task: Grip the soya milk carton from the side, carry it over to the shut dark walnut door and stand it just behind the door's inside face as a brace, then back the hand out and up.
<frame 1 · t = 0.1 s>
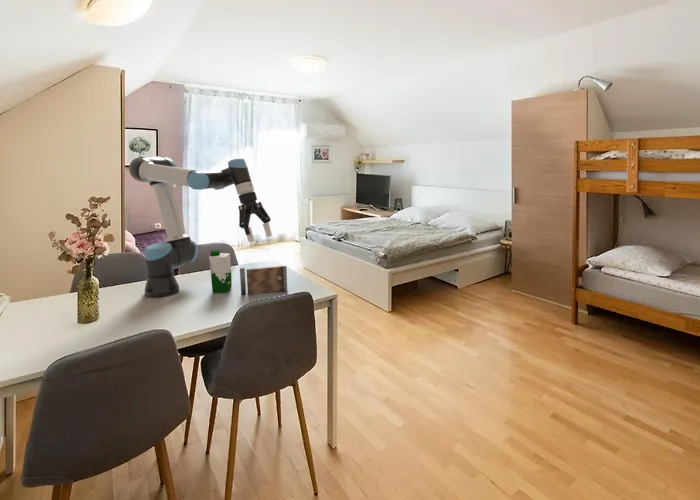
hand: (261, 239, 180), 28 cm above the table, tool tilted 20°, fingers open, 13 cm apart
door frame: (243, 294, 189), on the table
soya milk: (222, 291, 195), on the table
door: (266, 280, 191), point 6 cm above the table, hinge at 0.0°
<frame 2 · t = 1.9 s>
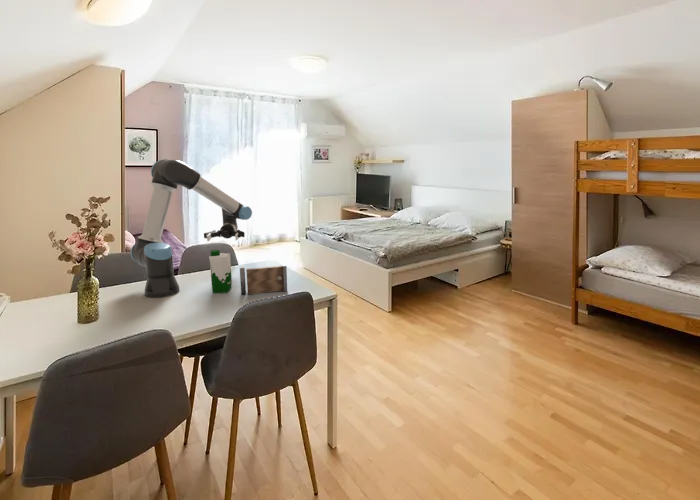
hand: (222, 238, 199), 24 cm above the table, tool horizontal, fingers open, 13 cm apart
nothing on the table moved.
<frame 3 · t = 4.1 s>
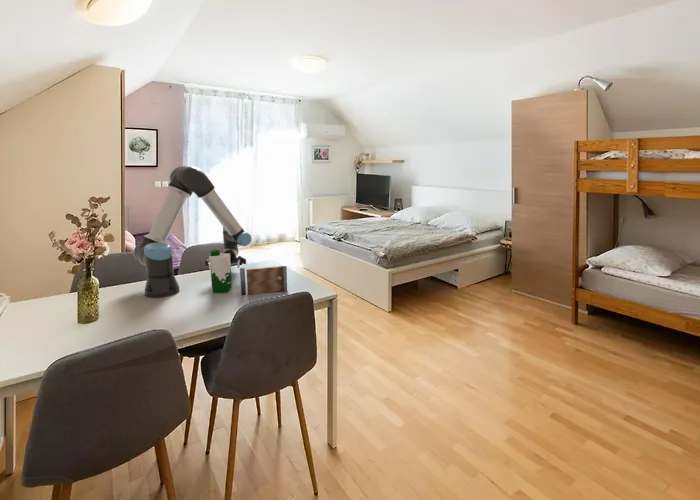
hand: (223, 266, 198), 11 cm above the table, tool horizontal, fingers open, 13 cm apart
nothing on the table moved.
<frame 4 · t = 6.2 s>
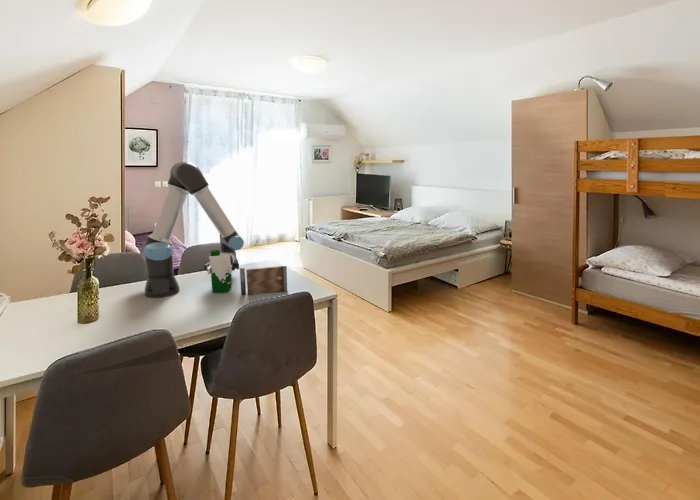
hand: (219, 271, 188), 11 cm above the table, tool horizontal, fingers closed on soya milk, 9 cm apart
soya milk: (222, 291, 195), on the table, touching gripper
everything else where it was.
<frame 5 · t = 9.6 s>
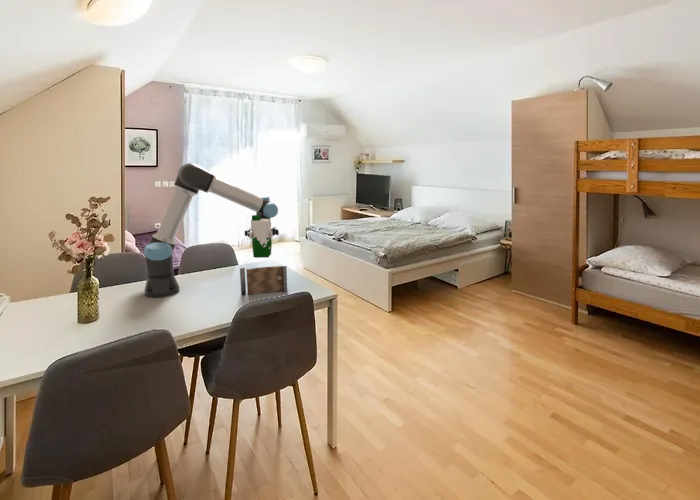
hand: (260, 235, 190), 27 cm above the table, tool horizontal, fingers closed on soya milk, 9 cm apart
soya milk: (262, 256, 197), point 16 cm above the table, touching gripper
everything else where it was.
when the fingers open (12 cm above the table, at t = 12.9 s): soya milk drops 1 cm, on the table.
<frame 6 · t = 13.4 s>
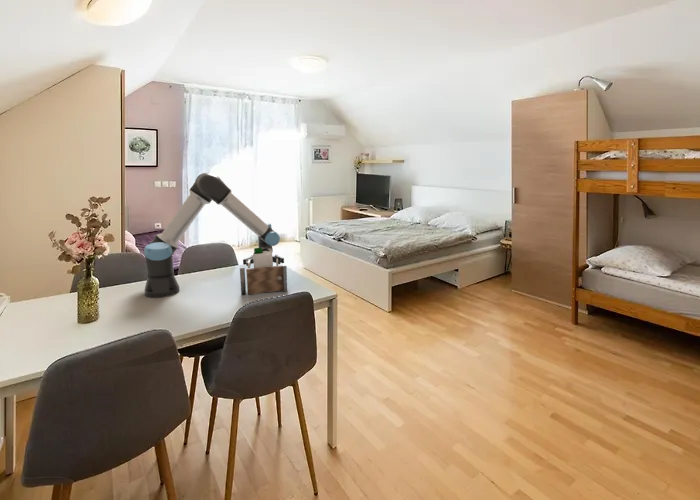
hand: (262, 265, 194), 12 cm above the table, tool horizontal, fingers open, 13 cm apart
soya milk: (264, 287, 200), on the table
everything else where it was.
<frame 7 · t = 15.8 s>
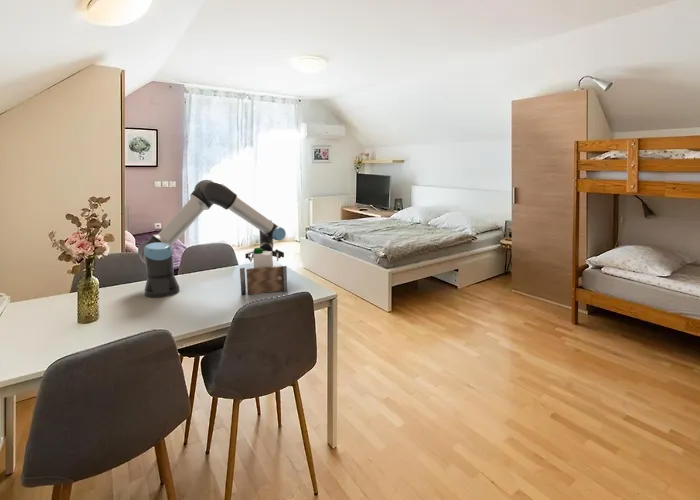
hand: (264, 258, 206), 13 cm above the table, tool horizontal, fingers open, 13 cm apart
nothing on the table moved.
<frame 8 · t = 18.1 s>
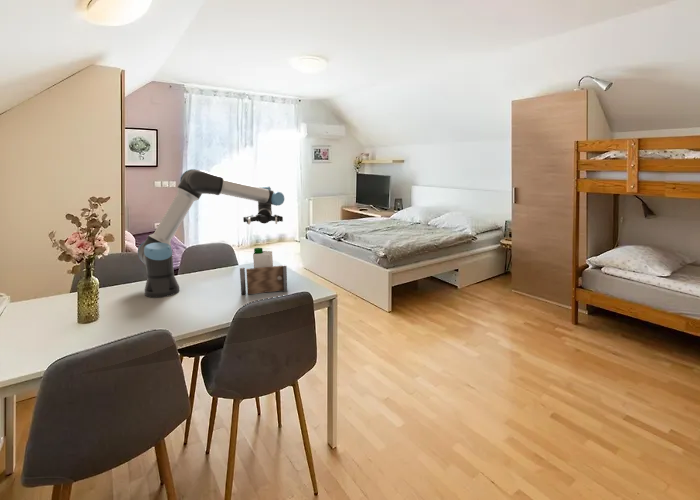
hand: (262, 221, 202), 32 cm above the table, tool horizontal, fingers open, 13 cm apart
nothing on the table moved.
at the end: soya milk inside the target area (0.1 cm from its centre), on the table; soya milk tilted 0°; door at +0° (first picture: +0°) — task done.
